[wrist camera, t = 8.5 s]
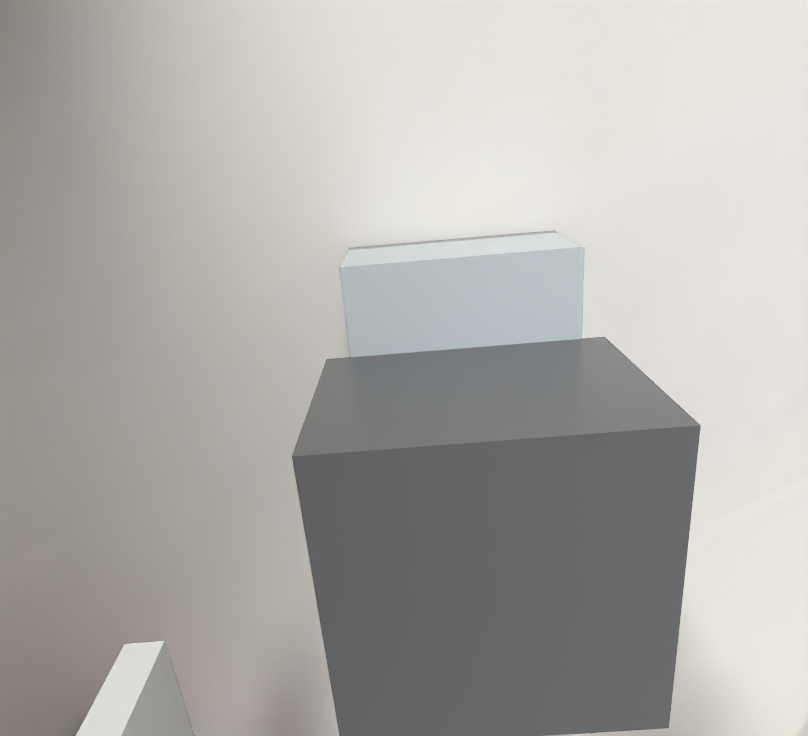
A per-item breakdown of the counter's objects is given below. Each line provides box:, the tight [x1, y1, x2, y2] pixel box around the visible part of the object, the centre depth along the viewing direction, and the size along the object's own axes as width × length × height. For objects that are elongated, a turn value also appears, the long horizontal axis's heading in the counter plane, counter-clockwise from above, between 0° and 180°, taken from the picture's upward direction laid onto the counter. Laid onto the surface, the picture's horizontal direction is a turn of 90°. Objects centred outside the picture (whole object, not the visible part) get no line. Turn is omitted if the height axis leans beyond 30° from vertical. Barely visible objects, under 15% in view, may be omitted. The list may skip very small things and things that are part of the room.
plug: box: [292, 337, 700, 736], centre depth 17 cm, size 9×8×8 cm
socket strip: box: [339, 231, 584, 736], centre depth 23 cm, size 26×7×4 cm, turn 5°
